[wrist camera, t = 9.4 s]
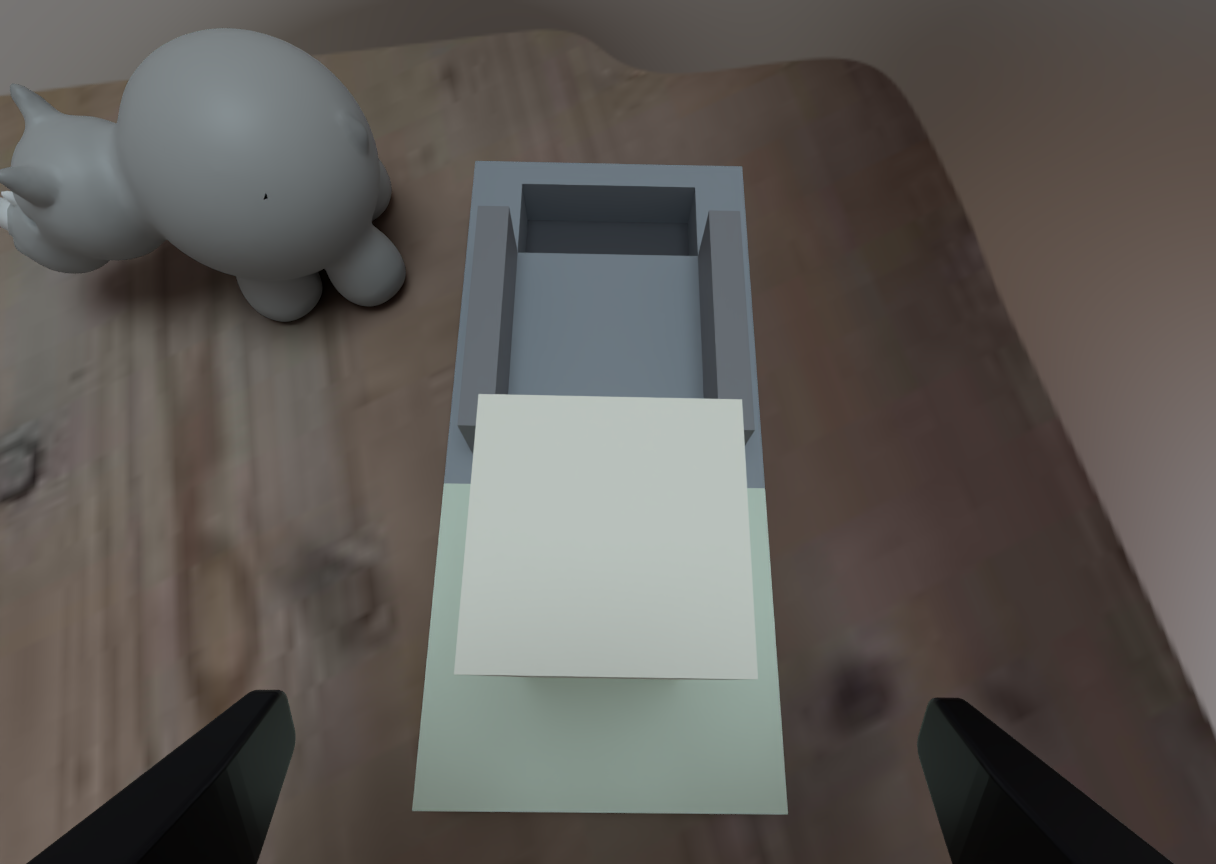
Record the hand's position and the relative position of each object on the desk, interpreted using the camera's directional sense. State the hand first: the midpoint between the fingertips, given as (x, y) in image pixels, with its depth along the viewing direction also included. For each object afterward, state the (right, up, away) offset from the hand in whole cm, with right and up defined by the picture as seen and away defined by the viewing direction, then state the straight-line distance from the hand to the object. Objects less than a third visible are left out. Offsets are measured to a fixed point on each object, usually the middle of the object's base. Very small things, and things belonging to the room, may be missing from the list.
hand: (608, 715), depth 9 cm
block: (0, -1, +10) cm, 10 cm away
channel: (0, +3, +15) cm, 15 cm away
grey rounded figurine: (-14, +10, +17) cm, 25 cm away
